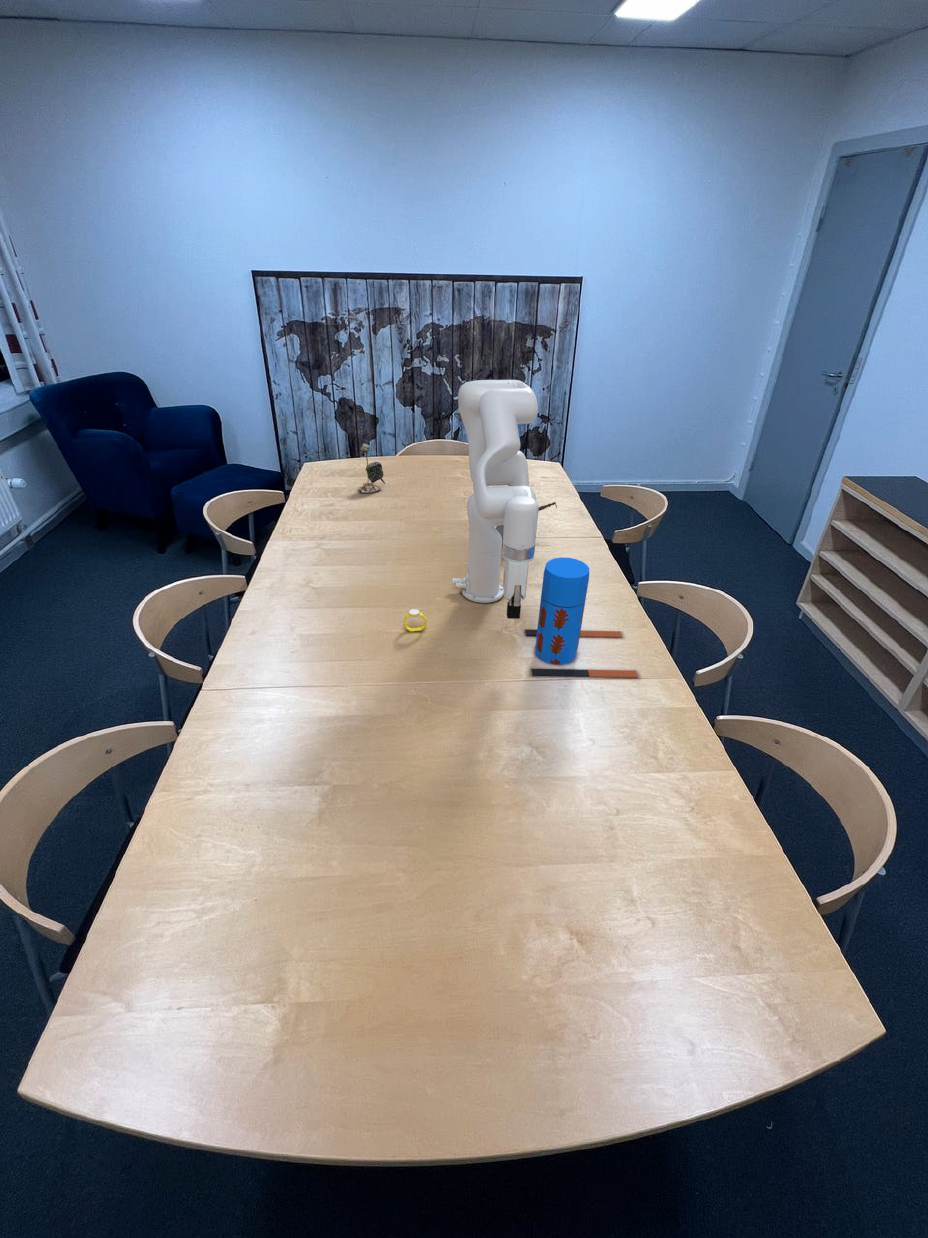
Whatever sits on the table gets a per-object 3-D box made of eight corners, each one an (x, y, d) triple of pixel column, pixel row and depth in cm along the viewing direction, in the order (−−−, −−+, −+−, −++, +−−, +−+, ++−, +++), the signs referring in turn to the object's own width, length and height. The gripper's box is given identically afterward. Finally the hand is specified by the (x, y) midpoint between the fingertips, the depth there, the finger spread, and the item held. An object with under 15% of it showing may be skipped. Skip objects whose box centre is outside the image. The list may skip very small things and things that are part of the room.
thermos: (575, 668, 154) (589, 581, 140) (532, 661, 155) (542, 575, 142) (577, 643, 163) (590, 559, 149) (537, 638, 164) (546, 554, 151)
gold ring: (426, 627, 167) (425, 608, 164) (426, 632, 165) (426, 614, 162) (403, 627, 167) (403, 609, 163) (404, 633, 164) (403, 614, 161)
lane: (532, 676, 150) (532, 674, 150) (525, 630, 167) (525, 629, 167) (637, 678, 151) (638, 676, 151) (619, 632, 168) (620, 631, 168)
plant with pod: (386, 493, 248) (384, 444, 238) (357, 494, 247) (354, 444, 236) (385, 486, 255) (383, 438, 244) (357, 486, 254) (354, 438, 243)
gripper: (500, 536, 149) (496, 601, 159) (504, 564, 136) (499, 633, 146) (531, 537, 149) (525, 602, 159) (538, 564, 136) (531, 633, 146)
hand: (513, 616), depth 152 cm, fingers closed
